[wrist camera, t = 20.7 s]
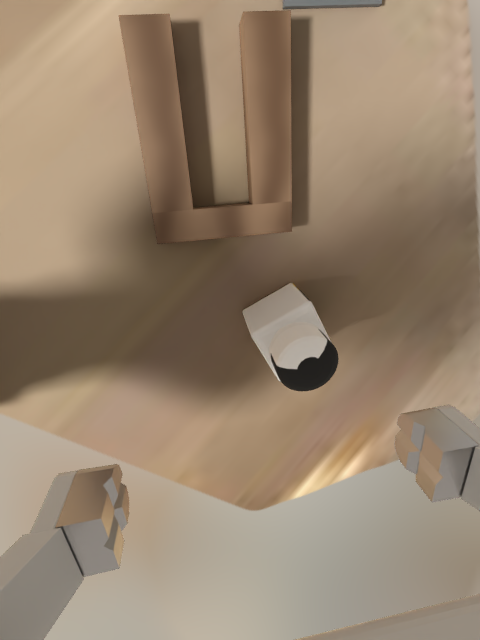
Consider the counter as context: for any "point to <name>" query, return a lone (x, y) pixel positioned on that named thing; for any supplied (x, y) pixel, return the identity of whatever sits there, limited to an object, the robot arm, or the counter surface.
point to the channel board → (169, 141)
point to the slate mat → (329, 3)
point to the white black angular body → (292, 339)
